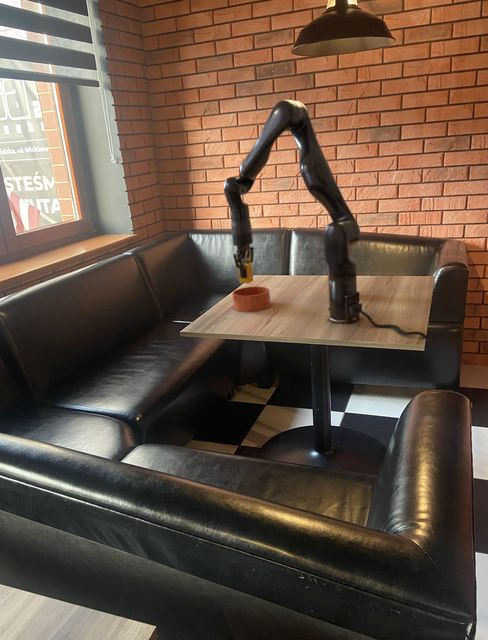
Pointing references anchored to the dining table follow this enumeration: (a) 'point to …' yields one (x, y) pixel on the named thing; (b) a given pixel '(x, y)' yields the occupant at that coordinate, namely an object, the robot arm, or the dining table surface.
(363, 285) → the dining table surface
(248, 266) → the sponge
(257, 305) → the crock
